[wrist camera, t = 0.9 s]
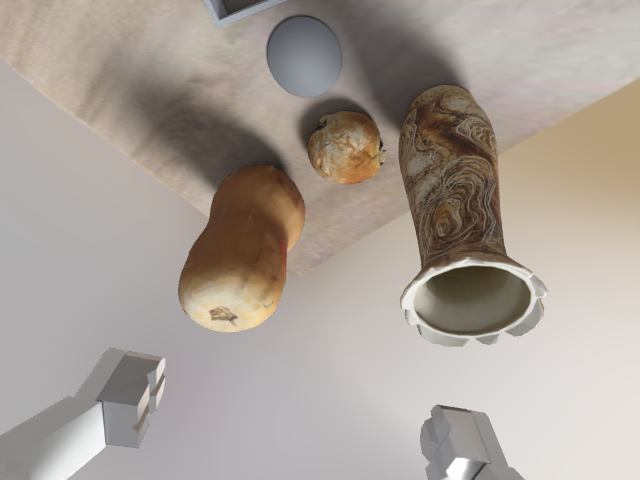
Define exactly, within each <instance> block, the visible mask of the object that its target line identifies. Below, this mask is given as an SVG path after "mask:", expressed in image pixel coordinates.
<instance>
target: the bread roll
mask: <svg viewBox="0 0 640 480" xmlns="http://www.w3.org/2000/svg"><path fill="white" fill-rule="evenodd" d="M319 121H320V122H321V124H320V125H319V126H318V127H317V128H316V130H315V131H314V132H313V134H312V135H311V137H310V140H309V142H308V156H309V159H310V162H311V164H312V166H313V168H314V169H315V170H316V171H317V173H318V174H319V175H321V176H322V177H323V178H325V179H326V180H328V181H331V182H333V183H335V184H345V185H346V184H356V183H360V182H361V181H363V180H365V179H368V178H370V177H374V176H375V174H376V173H377V171H378V170H379V169H380V166H381V165H382V164H383V162H384V161H385V159H386V156H387V153H386V150H383V151H382V150H381V148H382V146H383V142H382V141H381V140H380V139H379V137H380V132H379V130H378V128H377V127H376V124H375V123H374V122H373V121H372V120H371V119H370V118H369V117H367V116H366V115H363V114H360V113H357V112H350V111H339V112H336V113H333V114H331V115H330V114H326V115H325V116H323V117H322V118H321V119H320V120H319ZM375 156H376V157H375Z"/></svg>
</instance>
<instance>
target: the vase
mask: <svg viewBox="0 0 640 480" xmlns="http://www.w3.org/2000/svg"><path fill="white" fill-rule="evenodd" d="M399 164H400V169H401V174H402V178H403V182H404V186H405V190H406V194H407V198H408V202H409V206H410V210H411V214H412V217H413V221H414V226H415V230H416V235H417V239H418V245H419V252H420V257H421V266H422V270H421V271H420V272H419V274H418V275H417V276H416V277H415V278H414V279H413V281H412V282H411V283H410V284H409V285H408V286H407V287H406V288H405V290H404V292H403V294H402V296H401V299H400V303H401V308H402V309H405V319H406V320H407V322H408V324H409V325H417V326H418V330H419V332H420V334H421V336H422V337H423V338H424V339H427V340H428V341H430V342H431V343H434V344H438V345H442V346H445V347H451V348H458V347H463V346H464V345H465V344H466V342H467V341H468V340H469V339H470V338H475V339H477V340H478V341H480V342H481V343H483V344H487V345H491V344H494V343H496V342H497V341H498V340H499V338H500V335H501V333H502V332H504V331H505V332H507V333H509V334H511V335H513V336H522V335H525V334H527V333H528V332H530V331H531V330H532V329H533V328H535V327H536V326H538V325H539V323H540V321H541V320H542V318H543V315H544V307H543V304H542V302H541V299H540V297H544V296H547V294H548V290H547V289H546V287H545V285H544V284H543V282H542V281H541V280H539V279H538V278H537V277H536V276H535V275H533V272H532V271H530V270H529V269H527V268H525V267H524V266H522V265H520V264H519V263H517V262H515V261H514V260H512V259H511V258H509V257H508V256H507V254H506V250H505V246H504V239H503V231H502V223H501V213H500V196H499V175H498V154H497V144H496V139H495V135H494V131H493V128H492V125H491V123H490V120H489V119H488V117H487V115H486V114H485V112H484V111H483V110H482V108H481V107H480V106H479V105H477V104H476V101H475V100H474V98H473V97H472V96H471V94H470V93H469V92H468V91H466V90H464V89H463V88H461V87H458V86H454V85H439V86H436V87H433V88H430V89H428V90H426V91H424V92H423V93H421V94H420V95H419V96H418V97H417V98H416V99H415V100H414V101H413V102H412V104H411V105H410V107H409V109H408V111H407V115H406V119H405V122H404V124H403V126H402V129H401V132H400V138H399Z"/></svg>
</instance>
